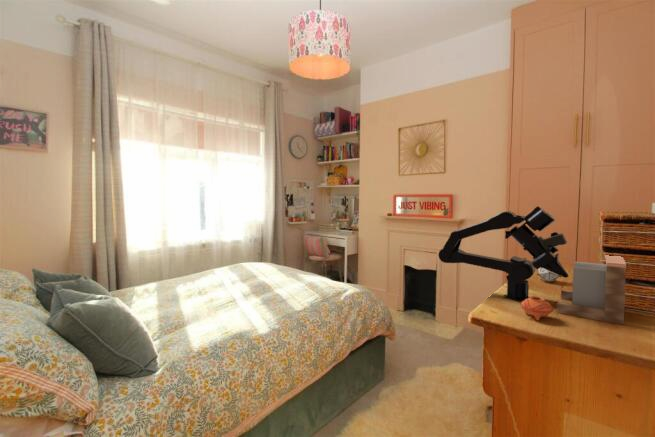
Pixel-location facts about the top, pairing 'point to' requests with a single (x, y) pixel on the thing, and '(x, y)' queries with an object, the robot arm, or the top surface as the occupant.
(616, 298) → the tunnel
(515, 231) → the robot arm
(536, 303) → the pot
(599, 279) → the tall block
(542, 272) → the game die
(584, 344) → the top surface
